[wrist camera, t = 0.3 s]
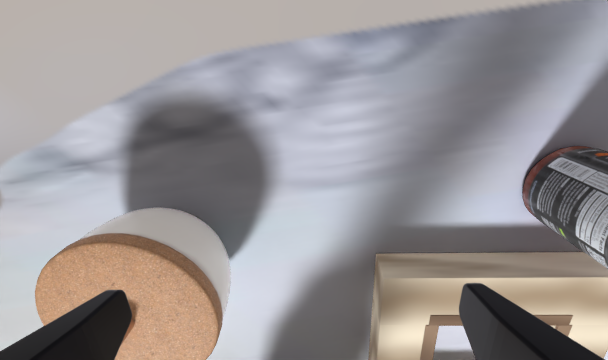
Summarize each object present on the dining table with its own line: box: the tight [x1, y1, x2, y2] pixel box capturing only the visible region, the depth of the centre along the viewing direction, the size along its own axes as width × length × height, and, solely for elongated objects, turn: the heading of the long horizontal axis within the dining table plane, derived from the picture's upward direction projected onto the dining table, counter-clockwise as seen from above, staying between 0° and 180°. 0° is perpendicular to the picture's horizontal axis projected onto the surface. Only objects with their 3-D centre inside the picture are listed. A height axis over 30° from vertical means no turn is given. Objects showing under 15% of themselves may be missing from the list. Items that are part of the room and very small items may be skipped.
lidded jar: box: [35, 208, 231, 360], centre depth 20 cm, size 11×11×9 cm
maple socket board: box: [368, 252, 608, 360], centre depth 26 cm, size 18×18×3 cm
